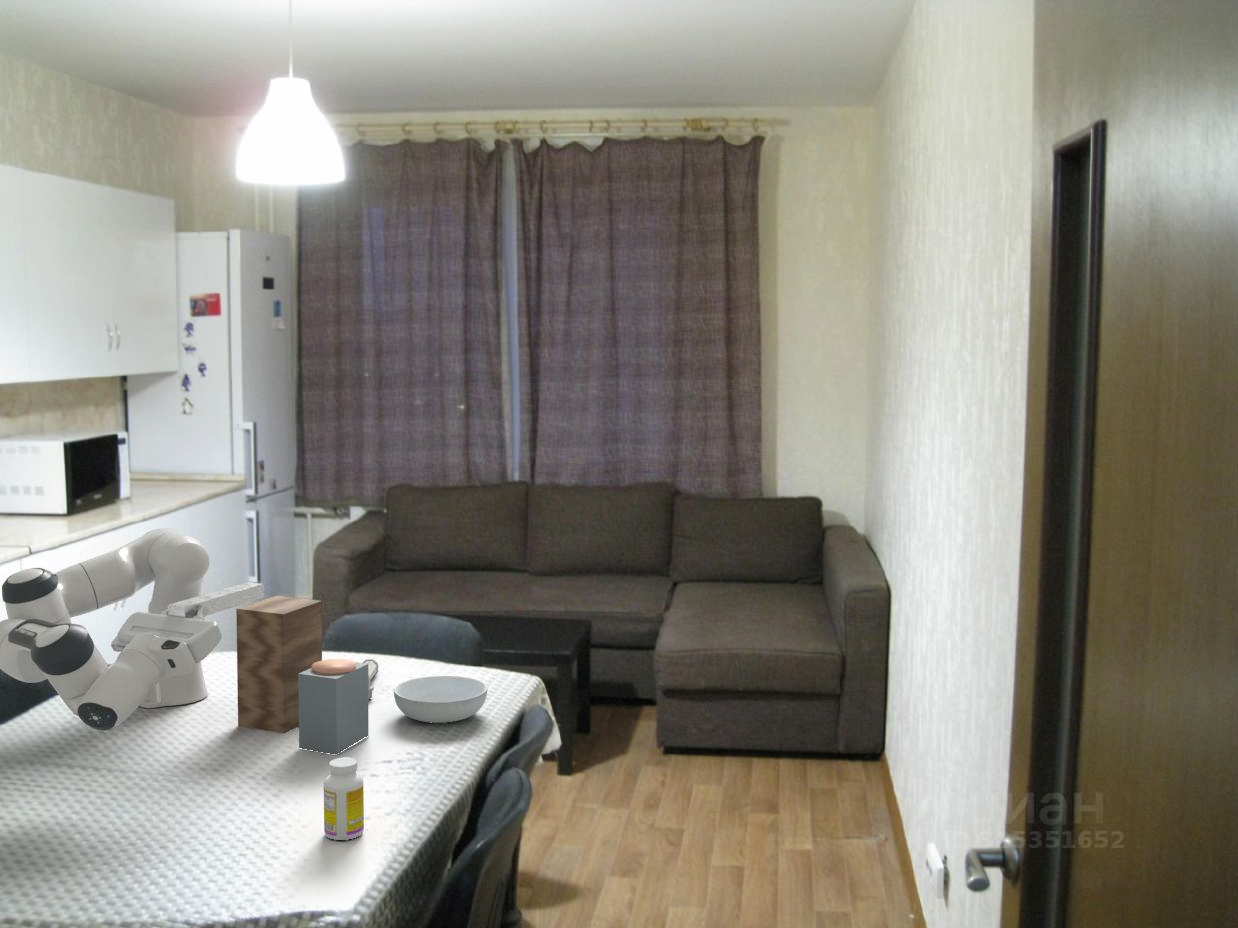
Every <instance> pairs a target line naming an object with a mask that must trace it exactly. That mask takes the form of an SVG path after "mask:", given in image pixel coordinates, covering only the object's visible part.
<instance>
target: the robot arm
mask: <svg viewBox="0 0 1238 928" xmlns="http://www.w3.org/2000/svg"><path fill="white" fill-rule="evenodd" d="M209 567H210V557H209V553H208V551H207V549H206V548H205V547H204V546H203V544H202V542H200V541H199V539H196V538H194V537H192V536H190V535H188V534H185V533H183V532H180V531H177V530H175V529H172V528H166V527H164V528H163V527H162V528H156V529H152V530H149V531H147V532H146V533H144V534H143V535H141V536H139V537H137V538H136V539H133V540H132V541H130V542H128V543H126V544H124V545H123V546H122V545H121V547H119V548H116V549H114V550H112V551H110V552H107V553H103V554H100V555H98V556H96V557H93V558H89V559H87V560H84V561H82V562H78V563H75V564H73V565H70V566H67V567H65V568H63V569H61V570H58V571H57V572H55V573H53V572H51V571H50V570H47V569H44V568H42V567H32V568H26V569H22V570H20V571H17V572H15V573H12V574H11V575H9V576H8V577H7V578H6V579H5V580H4V582H3V583H2V585H1V596H2V601H3V602H4V604H5V611H6V614H7V615H6V616H7V617H8V618H6V619H3V620H1V621H0V670H1V671H2V672H3V673H5V674H7V675H8V676H10V677H11V678H13V679H14V680H15V679H16V680H17V681H20V682H23V683H33V684H34V683H35V684H36V683H41V682H43V681H45V680H48V682H49V683H50V684H51V686H52V687H53V689H54V690H55V691H56V692H57V694H58V696H59V697H60V698H61V700H62V701H63V703H64V704H65V706H66V707H67V708H68V710H70V711H71V713H72V714H74V715H75V716H77V717H79V719H80V721H81V722H83V723H84V724H85V725H86V726H88V727H90V728H92V729H95V730H98V731H109V730H113V729H115V727H118V726H119V725H120V724H121V723H122V722H124V721H125V720H126V719H127V718H129V717H130V715H132V714H133V713H134V712H135V711H136V709H138V708H139V707H140V708H143V709H144V708H146V709H156V708H160V707H167V706H169V707H170V706H171V707H173V706H180V705H186V704H191V703H195V702H198V701H200V700H203V699H205V698H206V697H208V695H209V691H208V689H207V686H206V682H205V676H204V671H203V670H204V669H203V663H202V661H203V660H205V659H206V658H207V657H208V656H209V655H210V654H211V652H212V651H213V650H215V648H216V647H217V645H219V643H220V642H221V640H222V637H223V636H222V635H223V634H222V631H221V629H220V626H219V624H218V623H217V622H216V621H213V620H206V619H205V617H207V616H208V615H207V614H208V612H209V610H208V607H207V606H205V605H199V606H198V607H197V608H196V609H195V611H196V613H197V617H196V616H194V617H193V618H192V619H191V618H183V617H176V616H168V605H169V604H173V603H176V602H180V601H183V600H187V599H190V598H194V597H197V596H201V594H202V589H203V586H204V585H203V584H204V583H203V582H204V579H205V575H206V574H207V572H208V570H209ZM152 583H154V585H153V591H152V597H151V600H150V602H149V604H148V607H147V608H148V609H147V610H148V612H145V611H135V612H134V613H132V614H131V615H129V616H128V617H127V619H126V620H125V622H124V623H123V624H122V626H121V627H120V628H119V630H118V632H117V635H116V636H115V638H114V639H112V641H111V642H110V647H111V648H112V650H113V651H114V652H117V653H119V654H118V656H117V658H116V660H115V662H113V663H107V661H106V659H105V658H104V656H103V655H102V654H101V652H100V650H99V649H98V647H97V646H96V644H95V643H94V641H93V639H92V637H91V634H90V633H89V631H88V630H87V628H86V627H85V626H83V625H81V624H77V623H72V620H71V618H75V617H78V616H81V615H86V614H88V613H91V612H94V611H97V610H100V609H103V608H105V607H108V606H111V605H113V604H116V603H118V602H121V601H124V600H126V599H129V598H131V597H133V596H134V595H135V594H136V593H137V592H139V591H140V590H142V589H143V588H145V587H147V586H148V585H150V584H152ZM206 615H207V616H206Z"/></svg>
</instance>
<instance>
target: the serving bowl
mask: <svg viewBox="0 0 1238 928" xmlns="http://www.w3.org/2000/svg"><path fill="white" fill-rule="evenodd" d="M488 688H489V687H488V685H487V684H486V683H485V682H483V681H482V680H478V679H476V678H472V677H465V676H458V675H456V676H455V675H433V676H424V677H418V678H413V679H409V680H405V681H402V682H400V683H399V684H397V685H395V687H393V696H394V700H395V703H396V707H397V708H398V710H400V711H401V712H402V714H404V715H405V716H406V717H408V718H410V719H413V720H416V721H419V722H423V723H424V722H425V723H428V722H432V723H431V724H436V723H442V724H446V723H445V722H450V723H453V721H454V722H457V721H462V720H465V719H467V718H470V717H472V716H473V715H475V714H476V713H478V712H479V711H480V709H482V707H483V706H484V704H485V701H486V699H487V695H488V690H489V689H488Z"/></svg>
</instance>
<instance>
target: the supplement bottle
mask: <svg viewBox="0 0 1238 928" xmlns="http://www.w3.org/2000/svg"><path fill="white" fill-rule="evenodd" d="M328 767H329V768H328V770H329V772H330V774H329V775H328V776H326V778H325V779H324V781H323V830H324V835H325V837H326V838H327V837H328V839H329V838H330V839H329V840H331V839H334V840H333V841H336V840H346V841H350V840H349V839H352V840H354V839H353V838H355V839H357V838H359V837H360V836H361V835H363V833H364V829H365V811H364V810H365V809H364V808H365V807H364V806H365V803H364V778H363V776H362V775H361V774H360V773H358V772H357V771H358V760H357V759H355V758H352V757H338V758H334V759H332V760H330V761H329V765H328ZM358 836H359V837H358ZM356 837H357V838H356Z"/></svg>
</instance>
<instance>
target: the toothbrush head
mask: <svg viewBox="0 0 1238 928" xmlns="http://www.w3.org/2000/svg"><path fill="white" fill-rule="evenodd" d="M362 663H365V664H368V700H370V698H372V699H373V692H374V689H375V687H374V686H372V685H371V683H372V682H371V680H372V679H373V678H374V677H373V676H374V675H375V674H376V675H377V673H379V662H377V661H376V659H374V658H367V659H365V660H364V661H363V662H362ZM376 675H375V676H376Z"/></svg>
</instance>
